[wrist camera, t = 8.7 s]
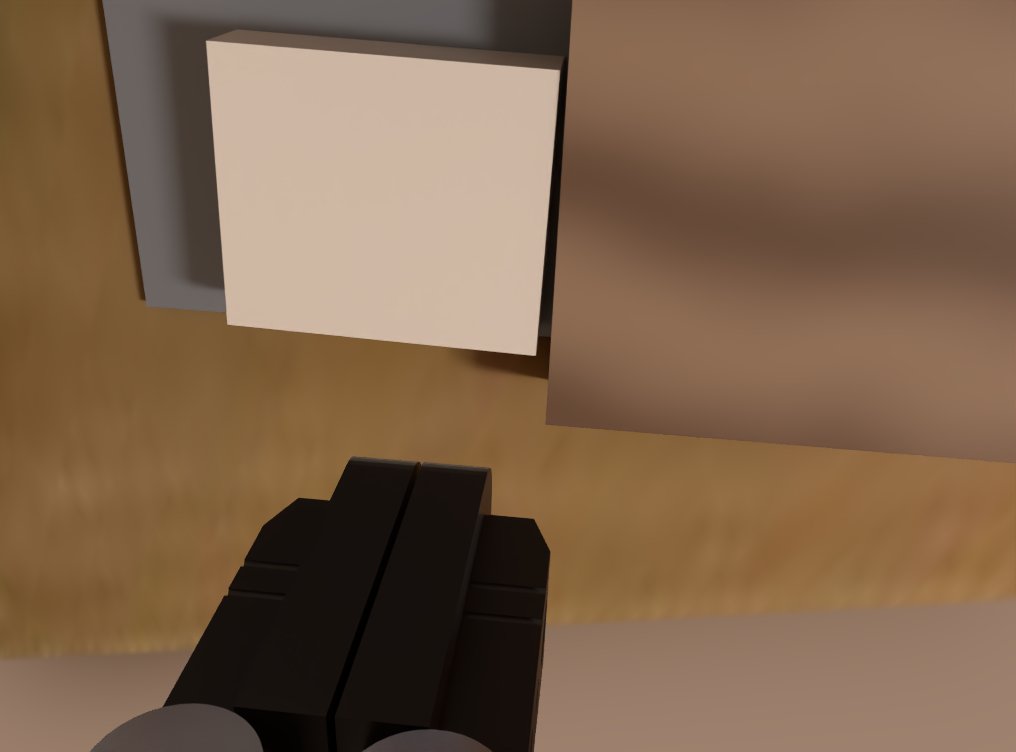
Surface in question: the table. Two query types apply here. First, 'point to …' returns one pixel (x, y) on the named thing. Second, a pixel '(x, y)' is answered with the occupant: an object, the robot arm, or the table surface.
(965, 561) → the table surface
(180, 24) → the mat
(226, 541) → the table surface
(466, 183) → the tile
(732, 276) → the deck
